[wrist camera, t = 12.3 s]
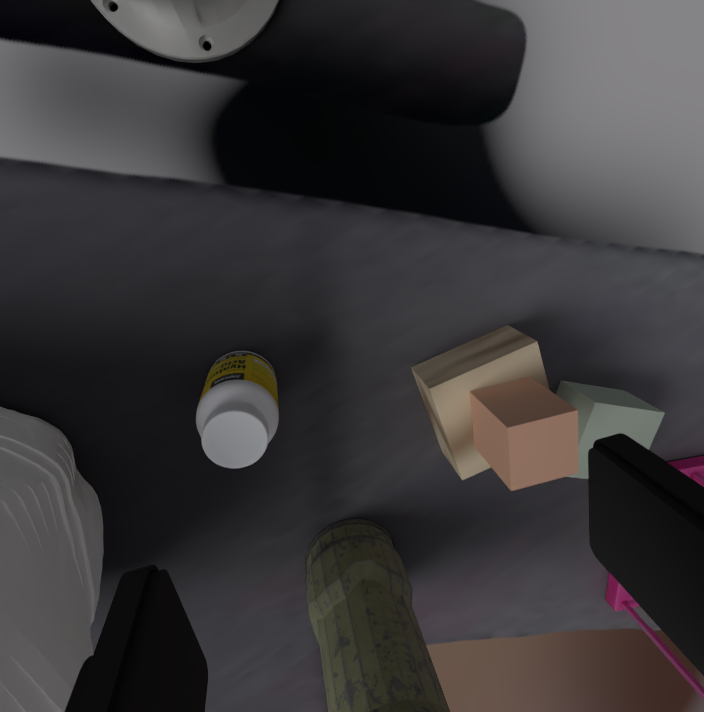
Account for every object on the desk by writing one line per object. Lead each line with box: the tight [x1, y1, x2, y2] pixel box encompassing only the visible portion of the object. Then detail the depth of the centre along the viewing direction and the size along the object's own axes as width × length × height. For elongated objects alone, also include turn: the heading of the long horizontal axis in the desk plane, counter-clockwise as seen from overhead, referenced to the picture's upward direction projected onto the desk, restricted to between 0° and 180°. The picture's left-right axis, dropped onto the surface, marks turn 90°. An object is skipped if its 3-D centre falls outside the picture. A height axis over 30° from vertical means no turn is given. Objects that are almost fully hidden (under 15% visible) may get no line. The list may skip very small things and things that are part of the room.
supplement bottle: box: [196, 351, 279, 469], centre depth 34 cm, size 5×5×10 cm
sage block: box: [556, 381, 665, 479], centre depth 43 cm, size 7×7×5 cm
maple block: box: [411, 325, 549, 480], centre depth 40 cm, size 9×9×5 cm
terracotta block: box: [470, 377, 578, 491], centre depth 35 cm, size 5×5×6 cm
